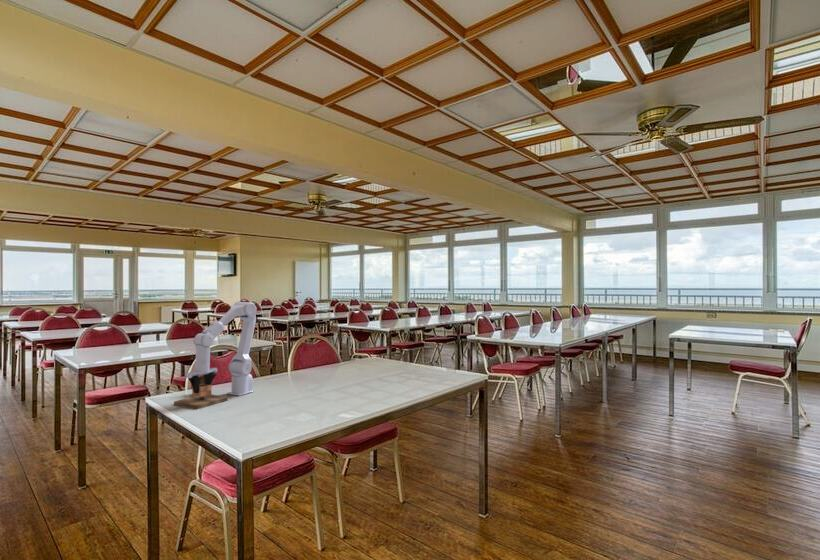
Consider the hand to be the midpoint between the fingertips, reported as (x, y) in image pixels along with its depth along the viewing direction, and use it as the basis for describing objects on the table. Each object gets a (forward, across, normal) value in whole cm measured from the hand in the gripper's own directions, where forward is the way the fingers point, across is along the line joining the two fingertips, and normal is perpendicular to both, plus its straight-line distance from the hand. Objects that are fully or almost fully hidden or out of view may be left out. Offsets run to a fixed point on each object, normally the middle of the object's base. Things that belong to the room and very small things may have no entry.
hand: (201, 391), depth 187 cm
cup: (+5, +12, +12) cm, 18 cm away
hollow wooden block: (+1, 0, 0) cm, 1 cm away
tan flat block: (+5, 0, 0) cm, 5 cm away
